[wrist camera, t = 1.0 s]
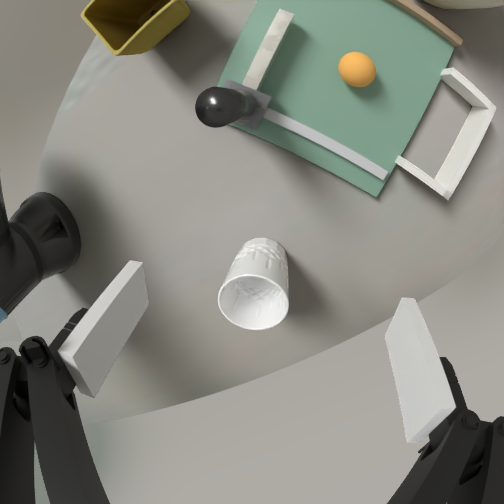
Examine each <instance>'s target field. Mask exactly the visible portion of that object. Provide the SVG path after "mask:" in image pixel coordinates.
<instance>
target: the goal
mask: <svg viewBox="0 0 504 504" xmlns="http://www.w3.org/2000/svg"><path fill="white" fill-rule="evenodd" d="M440 75H441V76H442V77H441V80H443V81H444V82H445V83H446V84H448V85H449V86H450V87H451V88H452V89H454V90H455V91H456V92H457V93H458V94H460V95H461V96H462V97H463V98H464V99H465V100H466V101H467V102H469V103H470V104H471V105H472V108H471V111H470V113H469V115H468V117H467V119H466V121H465V123H464V125H463V127H462V129H461V131H460V133H459V135H458V137H457V139H456V141H455V143H454V145H453V146H452V148H451V150H450V152H449V154H448V156H447V158H446V159H445V161H444V163H443V165H442V166H441V168H440V170H439V172H438V174H437V175H436V177H435V179H433V178H431V177H430V176H429V175H427V174H426V173H424V172H423V171H422V170H420V169H419V168H417V167H416V166H415V165H413V164H412V163H410V162H409V161H407V160H406V159H404V158H403V157H401V156H398V157H397V159H396V161H395V163H397V164H398V165H400V166H401V167H402V168H404V169H405V170H407V171H408V172H410V173H411V174H413V175H414V176H416V177H417V178H418V179H420V180H421V181H423V182H424V183H426V184H427V185H428V186H430V187H431V188H432V189H434V190H435V191H436V192H438V193H439V194H440V195H442V196H443V197H444V198H446V199H447V200H449V198H450V197H451V195H452V193H453V192H454V190H455V188H456V187H457V185H458V183H459V181H460V180H461V178H462V176H463V174H464V173H465V171H466V169H467V167H468V165H469V164H470V162H471V160H472V158H473V156H474V154H475V152H476V150H477V148H478V147H479V145H480V143H481V141H482V139H483V136H484V134H485V132H486V130H487V128H488V126H489V124H490V122H491V120H492V117H493V115H494V113H495V111H496V106H495V105H494V104H493V103H492V102H491V101H490V100H489V99H488V98H487V97H486V96H485V95H484V94H483V93H481V92H480V91H479V90H478V89H477V88H476V87H475V86H474V85H473V84H472V83H471V82H470V81H468V80H467V79H466V78H465V77H464V76H463V75H462V74H460V73H459V72H458V71H457V70H456V69H455V68H447V69H443V70H442V72H441V74H440Z"/></svg>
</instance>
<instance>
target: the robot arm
mask: <svg viewBox="0 0 504 504" xmlns="http://www.w3.org/2000/svg"><path fill="white" fill-rule="evenodd" d="M79 253H80V237H79V232H78V229H77V226H76V223H75V221H74V219H73V217H72V215H71V213H70V212H69V210H68V209H67V208H66V206H65V205H64V204H63V203H62V202H61V201H60V200H59V199H58V198H56V197H55V196H53V195H51V194H49V193H46V192H39V193H36V194H34V195H32V196H30V197H29V198H27V199H26V200H25V201H24V202H23V203H22V204H21V206H20V208H19V209H18V210H17V211H16V212H15V213H14V215H13V216H12V217H11V219H10V220H9V221H8V219H7V215H6V210H5V204H4V199H3V194H2V187H1V180H0V323H1V322H2V321H3V320H4V319H6V318H7V317H8V315H9V314H10V313H11V312H12V311H13V309H14V308H15V307H16V306H17V305H18V304H19V303H20V302H21V301H22V300H23V299H24V298H25V297H26V296H27V295H28V294H29V293H30V292H31V291H32V290H33V289H34V288H35V287H36V286H37V285H38V284H39V283H40V282H41V281H42V280H44V279H46V278H48V277H50V276H53V275H55V274H58V273H62V272H64V271H66V270H68V269H69V268H70V267H71V266H72V265H73V264H74V263H75V262H76V261H77V259H78V257H79ZM148 305H149V300H148V294H147V288H146V281H145V274H144V267H143V262H137V261H131V260H130V261H129V262H128V263H127V264H126V266H125V267H124V268H123V269H122V270H121V271H120V273H119V274H118V275H117V276H116V277H115V278H114V280H113V281H112V282H111V283H110V284H109V286H108V287H107V288H106V289H105V290H104V292H103V293H102V294H101V295H100V297H99V298H98V299H97V300H96V301H95V303H94V304H93V305H92V306H91V308H90V309H85V308H82V309H81V310H79V311H78V312H76V313H75V314H74V315H73V316H72V317H71V319H70V320H69V321H68V323H67V324H66V325H65V326H64V329H62V330H61V331H60V332H59V334H58V335H57V336H56V338H55V339H54V340H53V342H52V343H51V344H50V346H49V347H48V346H47V344H46V342H45V340H44V339H43V338H42V337H39V336H32V337H29V338H27V339H26V340H24V341H23V342H22V344H21V345H20V348H19V352H20V354H21V356H17V355H16V353H15V352H14V350H13V349H12V348H10V347H4V348H1V349H0V504H35V489H34V443H35V444H36V449H37V454H38V459H39V463H40V468H41V472H42V476H43V480H44V483H45V487H46V490H47V494H48V497H49V500H50V504H110V503H109V500H108V498H107V496H106V493H105V491H104V488H103V486H102V483H101V481H100V478H99V476H98V473H97V470H96V467H95V465H94V462H93V459H92V456H91V453H90V450H89V447H88V443H87V440H86V437H85V433H84V430H83V426H82V422H81V419H80V415H79V411H78V407H77V402H76V398H75V394H74V392H73V389H74V388H75V386H77V387H78V389H79V391H80V392H81V393H83V394H85V395H88V396H90V397H93V398H95V396H96V395H97V393H98V391H99V389H100V387H101V385H102V384H103V382H104V380H105V378H106V376H107V375H108V373H109V371H110V369H111V368H112V366H113V364H114V362H115V361H116V359H117V357H118V355H119V354H120V352H121V350H122V349H123V347H124V345H125V343H126V342H127V340H128V338H129V337H130V335H131V333H132V332H133V330H134V328H135V327H136V325H137V323H138V322H139V320H140V318H141V317H142V315H143V314H144V312H145V310H146V309H147V307H148ZM384 337H385V341H386V345H387V349H388V353H389V357H390V361H391V365H392V370H393V374H394V378H395V383H396V387H397V392H398V397H399V401H400V407H401V412H402V417H403V423H404V429H405V435H406V441H407V443H411V442H420V441H422V440H424V439H425V438H426V437H427V436H428V435H429V439H430V441H429V442H428V443H427V444H426V445H425V446H424V447H423V448H422V449H420V450H419V451H418V453H421V452H422V453H421V455H420V456H419V458H418V460H417V462H416V463H415V464H414V466H413V468H412V469H411V471H410V472H409V474H408V475H407V477H406V478H405V480H404V481H403V483H402V484H401V485H400V487H399V488H398V490H397V491H396V492H395V494H394V495H393V496H392V498H391V499H390V500H389V502H388V503H387V504H446V503H447V504H504V417H502V416H500V417H498V418H497V419H496V420H495V421H494V422H492V423H491V422H486V421H481V420H480V419H479V417H478V416H477V414H476V413H474V412H473V411H471V410H468V409H467V406H466V403H465V400H464V397H463V394H462V391H461V388H460V385H459V383H458V380H457V377H456V376H455V372H454V369H453V366H452V364H451V363H450V362H449V361H448V359H447V358H446V357H439V355H438V353H437V350H436V348H435V345H434V343H433V340H432V338H431V335H430V333H429V330H428V328H427V326H426V323H425V321H424V319H423V316H422V314H421V312H420V310H419V307H418V305H417V303H416V301H415V299H414V298H404V297H402V298H401V301H400V303H399V305H398V308H397V310H396V312H395V314H394V317H393V319H392V321H391V323H390V325H389V328H388V330H387V332H386V334H385V336H384Z"/></svg>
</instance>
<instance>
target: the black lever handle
mask: <svg viewBox="0 0 504 504" xmlns="http://www.w3.org/2000/svg"><path fill="white" fill-rule="evenodd" d="M294 20H295V18H294V14H293V13H290V12H288V11H285V10H282V9H279V10H278V12H277V14H276V16H275V18H274V20H273V22H272V24H271V26H270V27H269V29H268V31H267V33H266V35H265V37H264V39H263V41H262V43H261V45H260V47H259V49H258V51H257V53H256V55H255V57H254V60H253V62H252V64H251V66H250V68H249V70H248V72H247V74H246V76H245V79H244V81H243V83H242V84H240V83H237V82H235V81H232V80H229V79H226V81H225V83H224V85H223V87H211V88H208V89H206V90H205V91H203V92H202V93H201V94H200V95H199V97H198V99H197V101H196V105H195V110H196V114H197V116H198V118H199V120H200V121H201V122H202V123H203V124H205V125H207V126H209V127H222V126H225V125H227V124H230V123H233V122H236V123H238V124H240V125H243V126H245V127H248V128H250V129H252V130H254V131H256V130H258V128H259V126H260V124H261V122H262V120H263V117H264V115H265V113H266V111H267V109H268V107H269V105H270V103H271V100H272V98H273V97H272V96H270V95H267V94H265V93H263V92H260V91H259V90H260V88H261V86H262V84H263V82H264V80H265V77H266V75H267V73H268V71H269V69H270V67H271V65H272V63H273V61H274V59H275V57H276V55H277V53H278V51H279V49H280V47H281V45H282V43H283V41H284V39H285V37H286V35H287V33H288V31H289V29H290V28H291V26H292V24H293V22H294Z"/></svg>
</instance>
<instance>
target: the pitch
mask: <svg viewBox="0 0 504 504" xmlns="http://www.w3.org/2000/svg"><path fill="white" fill-rule="evenodd" d="M279 9H282V10H285V11H288V12H290V13H293V14H294V18H295V20H294V22H293V24H292V26H291V28H290V29H289V31H288V33H287V35H286V37H285V39H284V41H283V43H282V45H281V47H280V49H279V51H278V53H277V55H276V57H275V59H274V61H273V63H272V65H271V67H270V69H269V71H268V73H267V75H266V77H265V80H264V82H263V84H262V86H261V88H260V90H259V91H260V92H263V93H265V94H267V95H270V96H272V97H273V98H272V100H271V103H270V105H269V107H268V109H267V111H266V113H265V115H264V117H263V120H262V122H261V124H260V126H259V128H258V130H256V131H254V130H252V129H250V128H248V127H245V126H243V125H240V124H238V123H236V122H233V123H230V124H229V125H232V126H234V127H237V128H239V129H241V130H244V131H246V132H248V133H251V134H253V135H255V136H258V137H260V138H262V139H264V140H266V141H269V142H271V143H273V144H275V145H277V146H279V147H282V148H284V149H286V150H288V151H290V152H292V153H294V154H296V155H298V156H300V157H302V158H304V159H306V160H308V161H310V162H312V163H314V164H316V165H318V166H320V167H322V168H324V169H326V170H328V171H330V172H332V173H333V174H335V175H337V176H339V177H341V178H343V179H345V180H346V181H348V182H350V183H352V184H354V185H355V186H357V187H359V188H361V189H362V190H364V191H366V192H368V193H369V194H371V195H373V196H374V197H377V196H378V194H379V192H380V191H381V189H382V187H383V186H384V184H385V182H386V180H387V179H388V177H389V175H390V174H391V172H392V170H393V168H394V167H395V165H396V163H395V161H396V159H397V157H398V156H401V154H402V152H403V151H404V149H405V147H406V145H407V143H408V142H409V140H410V138H411V136H412V134H413V132H414V130H415V129H416V127H417V125H418V123H419V121H420V119H421V117H422V115H423V113H424V111H425V109H426V107H427V105H428V103H429V101H430V99H431V97H432V95H433V93H434V91H435V89H436V87H437V85H438V83H439V81H440V79H441V77H442V76H441V75H440V74H441V72H442V70H443V69H445V68H446V66H447V64H448V61H449V59H450V57H451V55H452V52H453V50H454V48H455V47H457V46H461V44H462V42H463V39H461V38H460V37H459V36H458V35H457V34H455V33H454V32H453V31H452V30H450V29H449V28H448V27H446V26H445V25H444V24H442V23H441V22H440V21H438V20H437V19H436V18H434V17H433V16H431V15H430V14H429V13H427V12H426V11H424V10H423V9H421V8H420V7H418V6H417V5H415V4H414V3H412V2H411V1H409V0H258V2H257V4H256V5H255V7H254V9H253V11H252V13H251V15H250V17H249V19H248V21H247V23H246V24H245V26H244V28H243V30H242V32H241V34H240V36H239V38H238V41H237V43H236V45H235V47H234V49H233V51H232V53H231V55H230V57H229V59H228V62H227V64H226V66H225V68H224V70H223V73H222V75H221V77H220V79H219V82H218V84H217V86H216V87H223V85H224V83H225V81H226V79H229V80H232V81H235V82H237V83H240V84H242V83H243V81H244V79H245V76H246V74H247V72H248V70H249V68H250V66H251V64H252V62H253V60H254V57H255V55H256V53H257V51H258V49H259V47H260V45H261V43H262V41H263V39H264V37H265V35H266V33H267V31H268V29H269V27H270V26H271V24H272V22H273V20H274V18H275V16H276V14H277V12H278V10H279ZM350 52H360V53H363V54H365V55H367V56H368V57H369V58H370V59H371V60H372V61H373V63H374V65H375V68H376V75H375V78H374V80H373V81H372V82H371V83H370V84H369V85H367V86H364V87H354V86H351V85H349V84H347V83H346V82H345V81H344V80H343V79H342V78H341V76H340V74H339V71H338V64H339V61H340V59H341V58H342V57H343V56H344V55H345V54H347V53H350Z"/></svg>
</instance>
